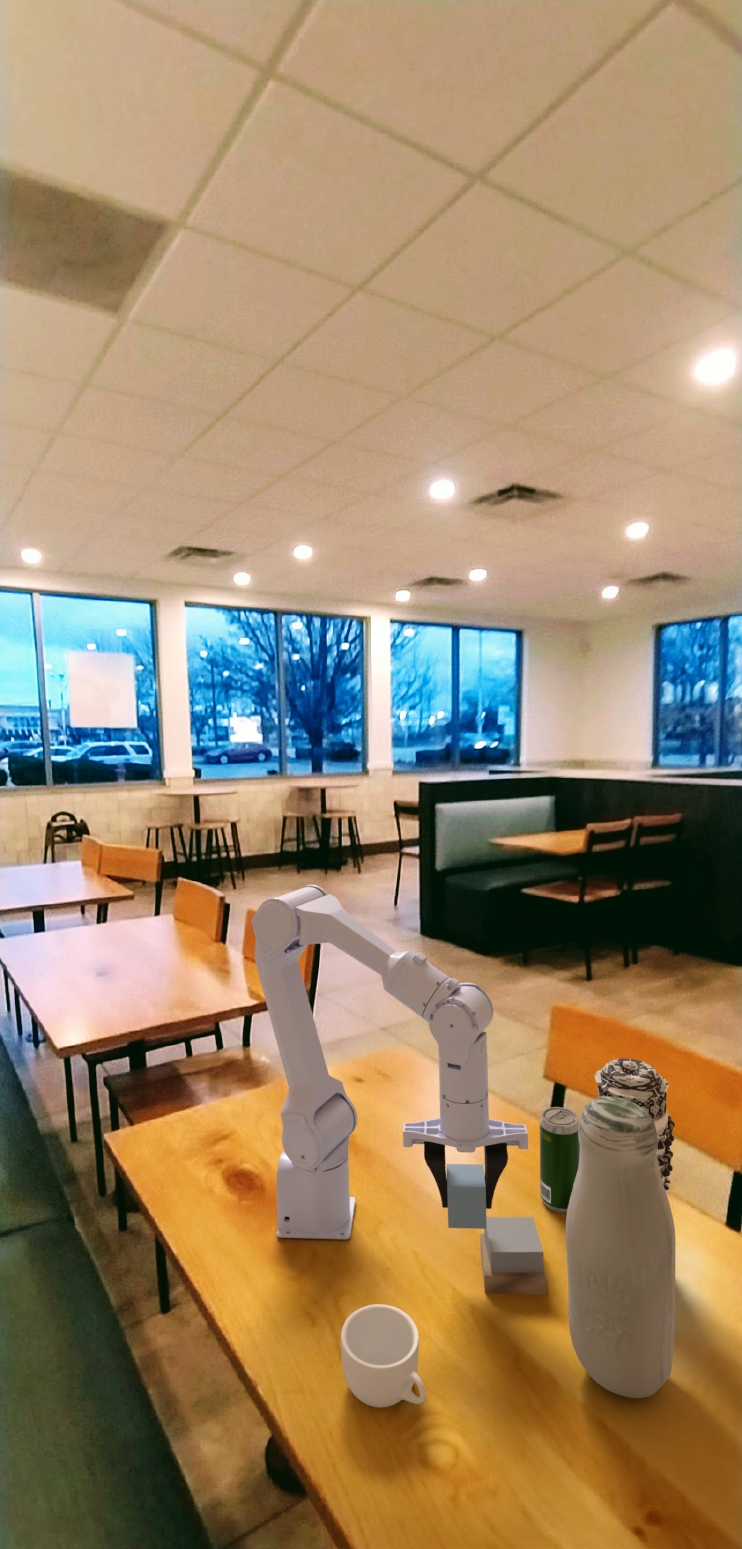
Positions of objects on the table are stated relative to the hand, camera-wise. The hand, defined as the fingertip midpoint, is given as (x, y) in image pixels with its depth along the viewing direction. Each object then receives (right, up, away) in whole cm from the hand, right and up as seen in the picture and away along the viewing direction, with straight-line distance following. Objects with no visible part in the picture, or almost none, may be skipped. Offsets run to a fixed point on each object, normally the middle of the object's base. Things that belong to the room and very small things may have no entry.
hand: (466, 1202), depth 87 cm
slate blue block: (0, -2, 0) cm, 2 cm away
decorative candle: (+20, -8, 0) cm, 21 cm away
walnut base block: (+6, -9, +1) cm, 11 cm away
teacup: (-10, -10, -15) cm, 21 cm away
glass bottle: (+14, -9, -14) cm, 22 cm away
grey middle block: (+6, -6, +1) cm, 9 cm away
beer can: (+15, -8, +13) cm, 21 cm away
